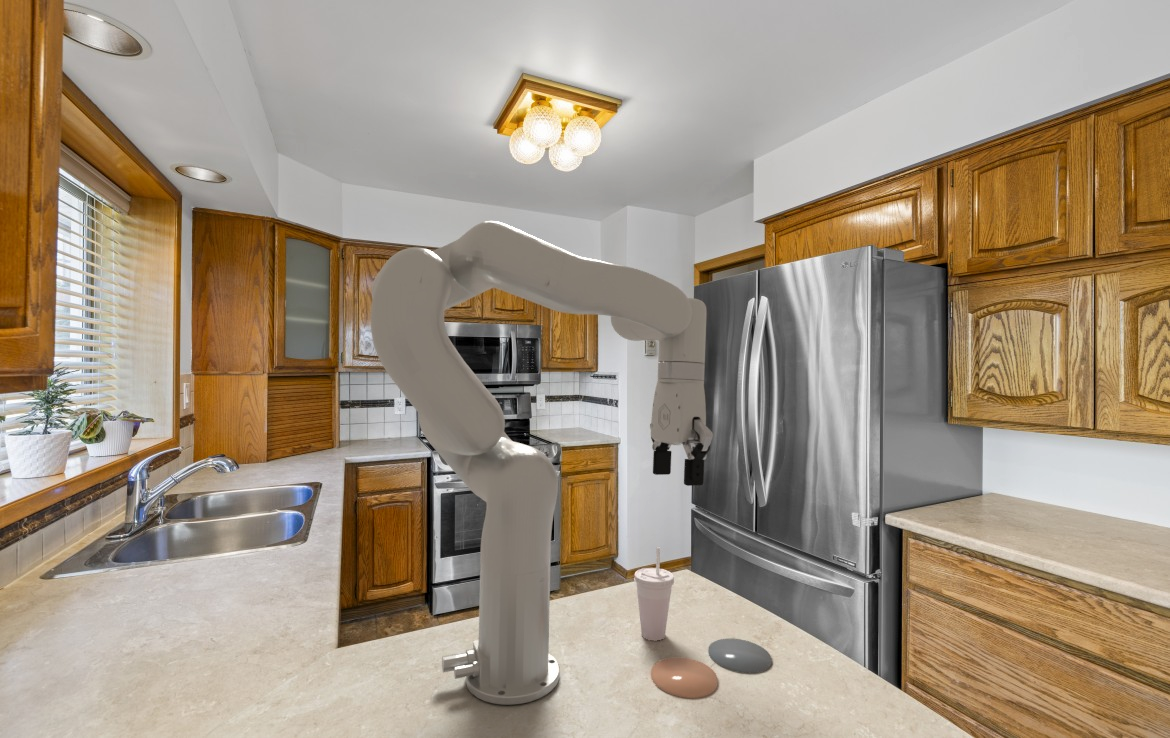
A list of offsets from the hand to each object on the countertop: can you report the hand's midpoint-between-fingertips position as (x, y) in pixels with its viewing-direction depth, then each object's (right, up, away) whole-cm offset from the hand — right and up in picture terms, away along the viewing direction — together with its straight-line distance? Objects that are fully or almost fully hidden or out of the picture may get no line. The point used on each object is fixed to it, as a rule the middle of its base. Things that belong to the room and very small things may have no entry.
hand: (676, 479), depth 85 cm
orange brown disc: (-1, -25, -13) cm, 28 cm away
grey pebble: (+8, -25, -7) cm, 27 cm away
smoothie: (-4, -25, -1) cm, 25 cm away
